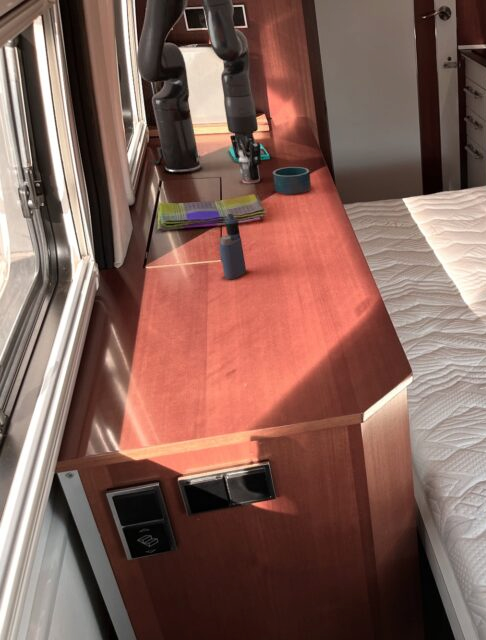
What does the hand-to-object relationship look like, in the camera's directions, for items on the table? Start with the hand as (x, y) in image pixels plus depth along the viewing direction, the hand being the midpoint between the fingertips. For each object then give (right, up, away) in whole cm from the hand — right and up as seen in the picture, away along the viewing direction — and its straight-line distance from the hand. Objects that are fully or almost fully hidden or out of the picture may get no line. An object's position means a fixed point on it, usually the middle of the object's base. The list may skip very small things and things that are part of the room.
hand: (250, 177), depth 220 cm
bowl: (+13, -5, -7) cm, 16 cm away
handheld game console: (-9, +13, +26) cm, 30 cm away
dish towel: (-1, -16, -26) cm, 31 cm away
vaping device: (+16, -35, -58) cm, 69 cm away
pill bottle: (0, -1, +1) cm, 1 cm away
